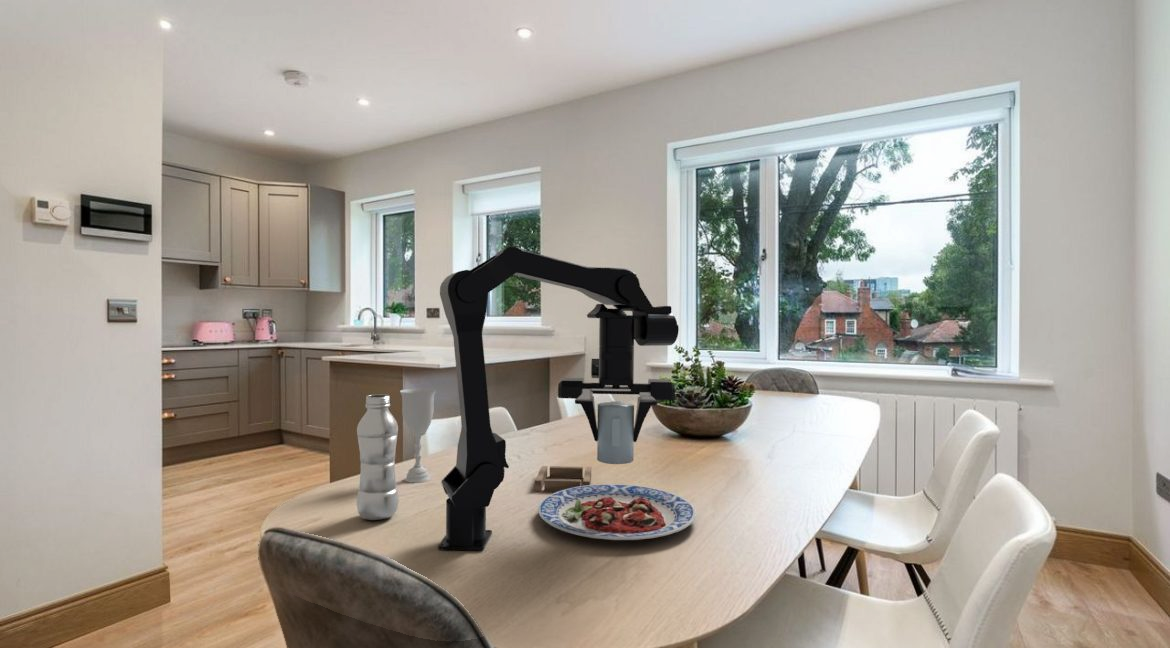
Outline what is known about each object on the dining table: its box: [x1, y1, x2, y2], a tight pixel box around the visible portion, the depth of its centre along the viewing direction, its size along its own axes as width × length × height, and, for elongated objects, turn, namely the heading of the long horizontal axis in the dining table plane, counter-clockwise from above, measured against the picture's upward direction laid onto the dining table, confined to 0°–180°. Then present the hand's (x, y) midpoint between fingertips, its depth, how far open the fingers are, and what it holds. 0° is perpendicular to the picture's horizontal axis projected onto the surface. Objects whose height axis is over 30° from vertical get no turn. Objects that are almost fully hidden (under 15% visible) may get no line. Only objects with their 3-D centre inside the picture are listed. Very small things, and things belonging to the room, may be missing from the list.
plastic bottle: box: [356, 394, 400, 521], centre depth 92 cm, size 6×7×20 cm
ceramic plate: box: [537, 483, 697, 541], centre depth 92 cm, size 26×26×3 cm
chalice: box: [399, 388, 437, 484], centre depth 114 cm, size 7×7×18 cm
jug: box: [596, 401, 635, 465], centre depth 91 cm, size 6×10×9 cm, turn 177°
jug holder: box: [534, 465, 592, 492], centre depth 112 cm, size 10×10×2 cm
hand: (615, 441), depth 92 cm, fingers closed on jug, 6 cm apart
